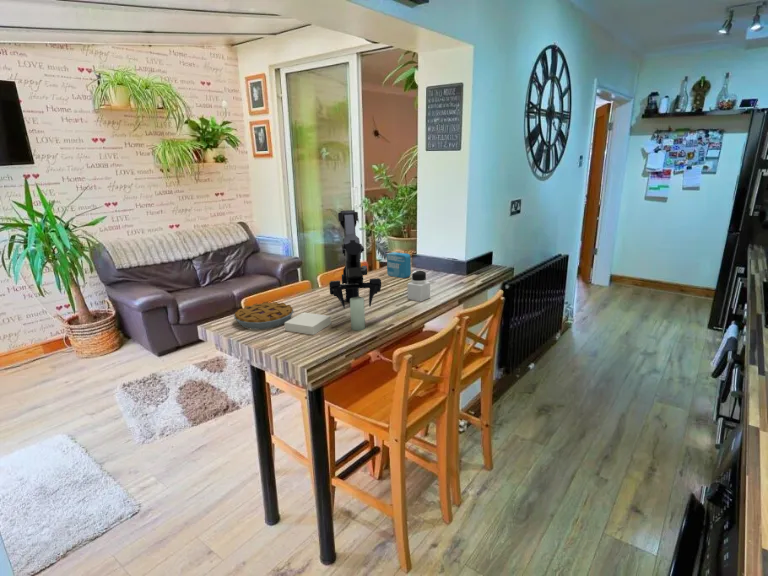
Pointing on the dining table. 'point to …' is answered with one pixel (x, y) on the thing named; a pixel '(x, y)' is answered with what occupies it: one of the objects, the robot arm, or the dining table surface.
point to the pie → (264, 315)
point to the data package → (398, 265)
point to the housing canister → (357, 313)
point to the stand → (307, 323)
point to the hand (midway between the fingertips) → (357, 307)
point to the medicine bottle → (418, 287)
